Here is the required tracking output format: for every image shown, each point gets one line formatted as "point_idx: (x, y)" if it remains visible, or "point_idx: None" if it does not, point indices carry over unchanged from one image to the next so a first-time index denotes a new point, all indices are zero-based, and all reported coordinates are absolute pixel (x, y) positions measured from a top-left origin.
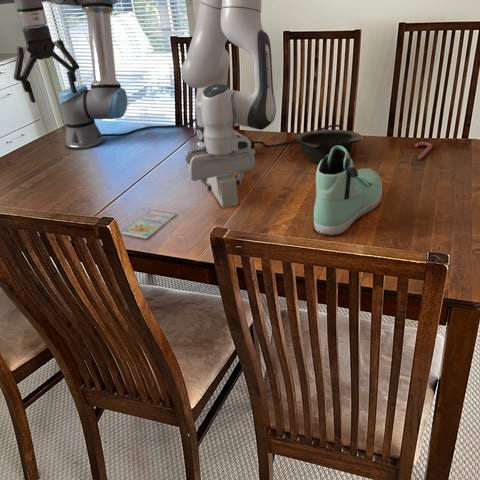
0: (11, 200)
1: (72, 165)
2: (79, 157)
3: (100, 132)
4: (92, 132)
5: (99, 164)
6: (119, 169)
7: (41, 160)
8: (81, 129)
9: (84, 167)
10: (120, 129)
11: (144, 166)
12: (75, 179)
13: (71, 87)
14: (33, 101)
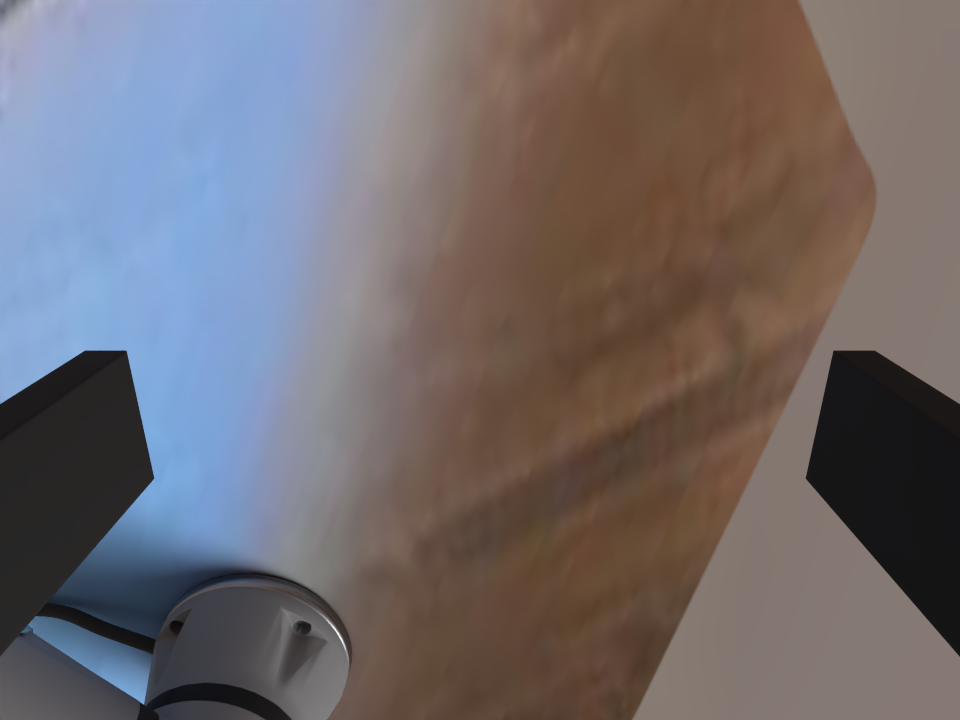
0: (843, 211)
1: (417, 423)
2: (348, 497)
3: (152, 659)
4: (195, 642)
5: (293, 326)
6: (219, 159)
7: (513, 593)
8: (242, 675)
9: (376, 348)
10: None
11: (69, 77)
12: (478, 220)
13: (95, 481)
14: (879, 356)
